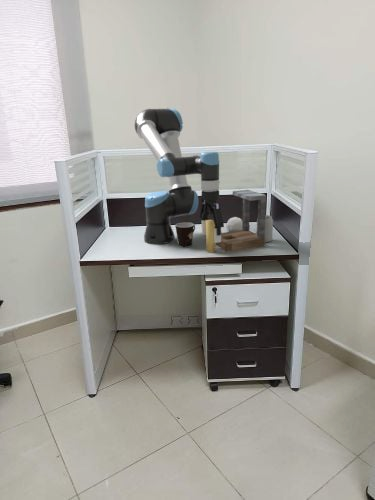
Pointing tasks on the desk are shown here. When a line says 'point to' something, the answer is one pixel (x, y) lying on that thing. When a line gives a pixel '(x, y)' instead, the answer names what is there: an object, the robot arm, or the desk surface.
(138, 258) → the desk surface
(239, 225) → the white rounded lump
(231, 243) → the socket board
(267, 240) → the can
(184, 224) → the coffee mug
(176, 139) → the robot arm
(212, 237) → the peg
